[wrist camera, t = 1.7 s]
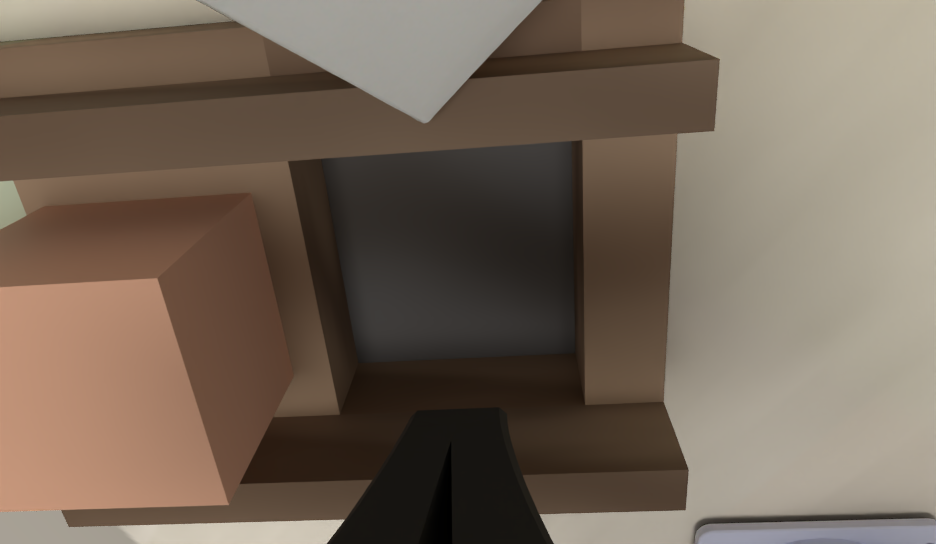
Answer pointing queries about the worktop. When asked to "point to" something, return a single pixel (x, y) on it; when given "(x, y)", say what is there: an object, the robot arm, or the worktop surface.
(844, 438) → the worktop surface
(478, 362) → the trap channel
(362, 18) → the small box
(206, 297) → the block
